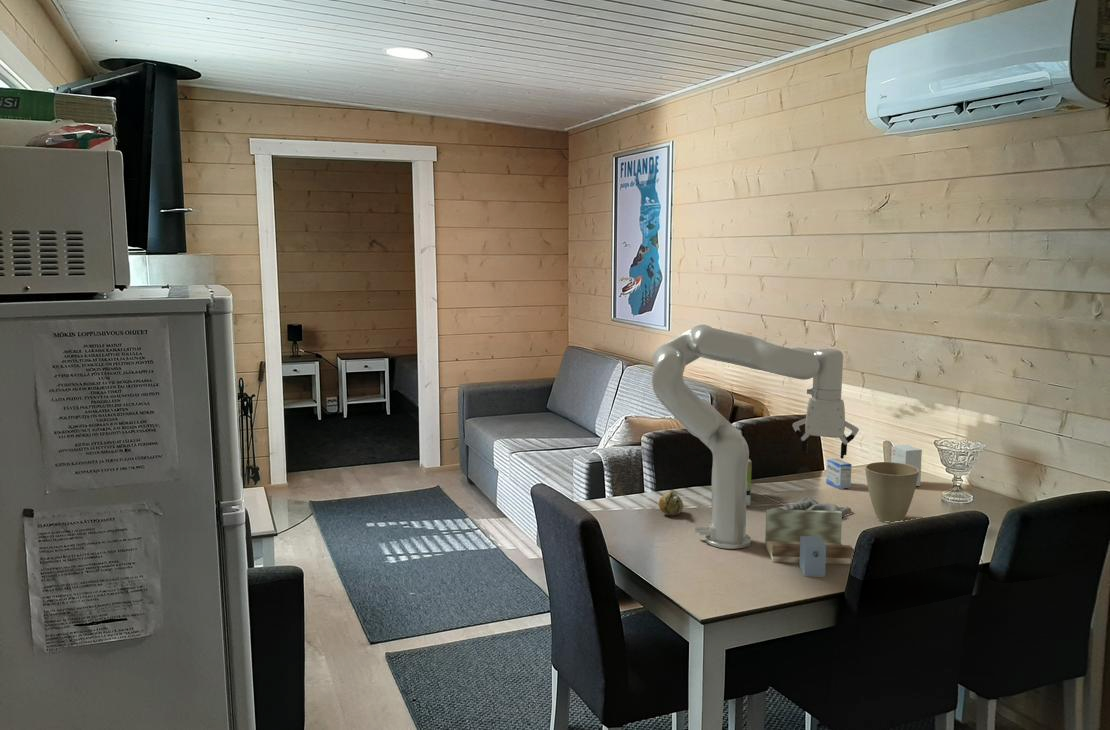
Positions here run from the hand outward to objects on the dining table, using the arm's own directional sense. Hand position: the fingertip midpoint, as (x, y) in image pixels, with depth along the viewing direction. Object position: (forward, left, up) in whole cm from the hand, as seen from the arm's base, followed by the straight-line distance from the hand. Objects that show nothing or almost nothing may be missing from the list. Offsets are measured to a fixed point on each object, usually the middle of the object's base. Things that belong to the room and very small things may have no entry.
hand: (823, 455), depth 227 cm
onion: (-41, +22, -25) cm, 52 cm away
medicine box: (+17, +56, -25) cm, 63 cm away
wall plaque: (+2, +23, -26) cm, 34 cm away
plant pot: (+24, +21, -25) cm, 40 cm away
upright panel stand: (-6, -9, -25) cm, 27 cm away
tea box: (-21, +39, -25) cm, 50 cm away
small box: (+40, +59, -25) cm, 75 cm away
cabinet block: (-7, -21, -25) cm, 33 cm away
